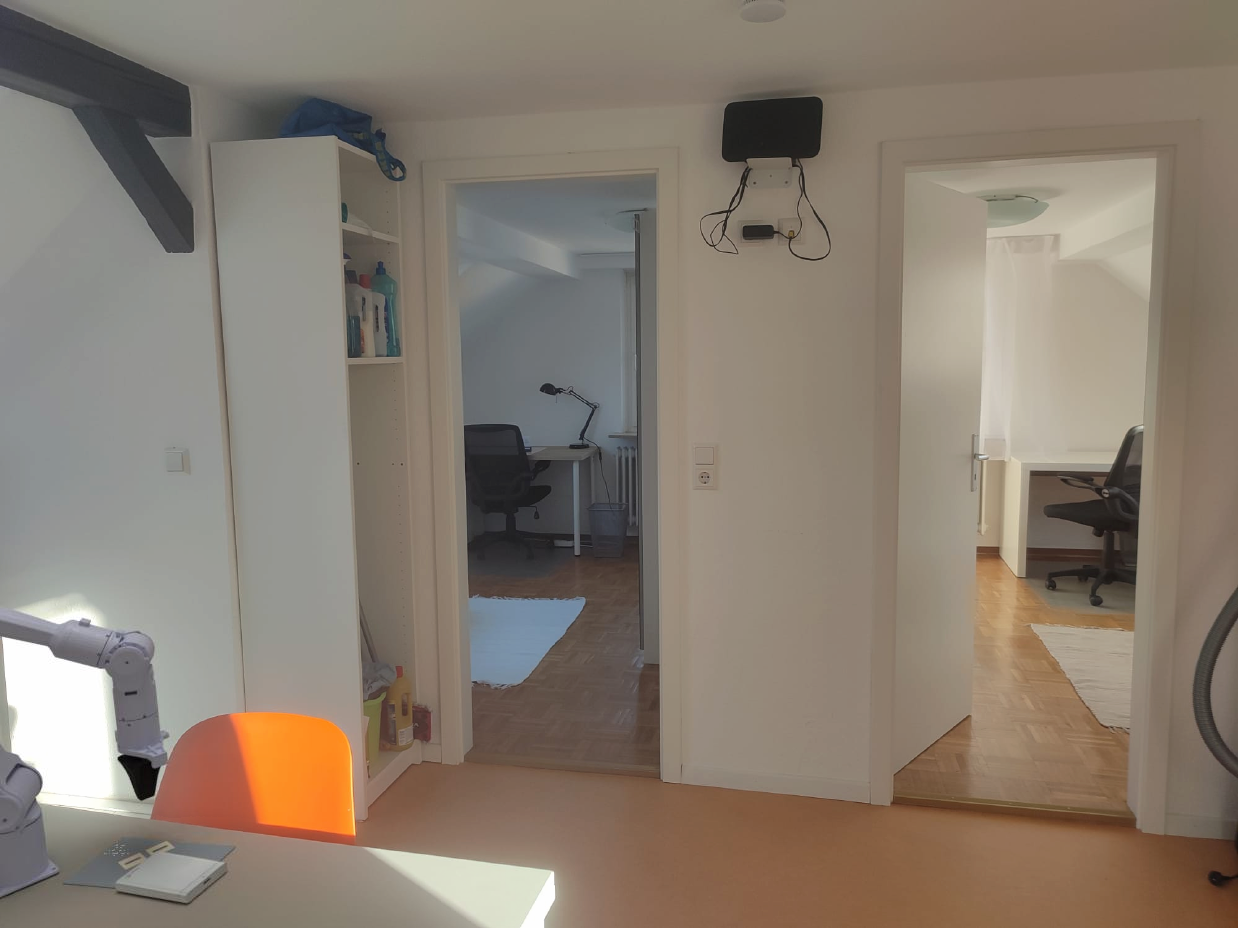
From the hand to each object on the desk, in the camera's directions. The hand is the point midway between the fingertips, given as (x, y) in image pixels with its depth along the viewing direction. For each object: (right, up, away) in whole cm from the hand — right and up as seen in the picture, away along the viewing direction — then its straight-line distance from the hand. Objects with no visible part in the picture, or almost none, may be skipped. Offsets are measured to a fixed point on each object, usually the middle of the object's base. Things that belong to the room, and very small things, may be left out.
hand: (146, 796), depth 136 cm
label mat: (+2, -9, -3) cm, 10 cm away
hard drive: (+8, -10, -7) cm, 14 cm away
